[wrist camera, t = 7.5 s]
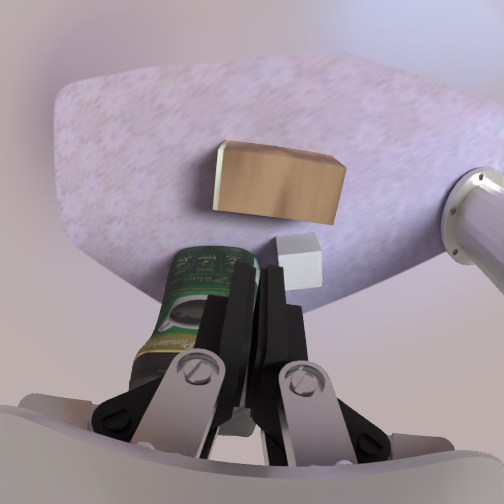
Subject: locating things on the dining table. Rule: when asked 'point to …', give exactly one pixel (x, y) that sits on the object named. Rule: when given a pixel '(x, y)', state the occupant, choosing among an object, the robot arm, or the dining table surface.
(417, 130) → the dining table surface
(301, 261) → the grey cube
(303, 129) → the dining table surface
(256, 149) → the tan block
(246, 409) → the coffee jar
